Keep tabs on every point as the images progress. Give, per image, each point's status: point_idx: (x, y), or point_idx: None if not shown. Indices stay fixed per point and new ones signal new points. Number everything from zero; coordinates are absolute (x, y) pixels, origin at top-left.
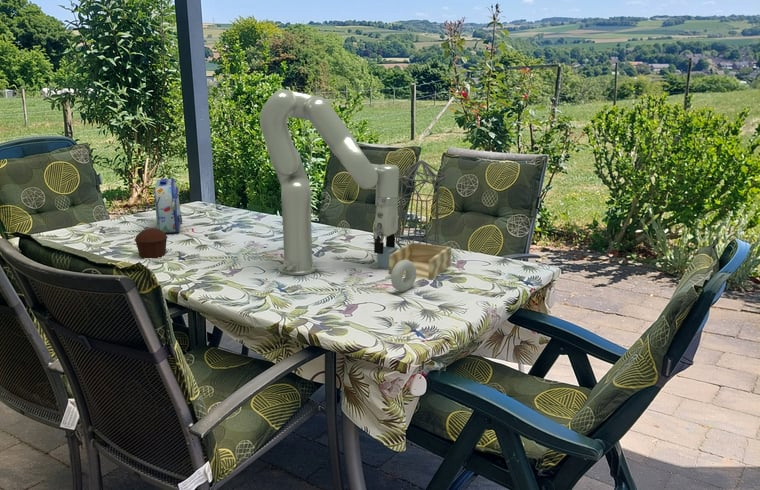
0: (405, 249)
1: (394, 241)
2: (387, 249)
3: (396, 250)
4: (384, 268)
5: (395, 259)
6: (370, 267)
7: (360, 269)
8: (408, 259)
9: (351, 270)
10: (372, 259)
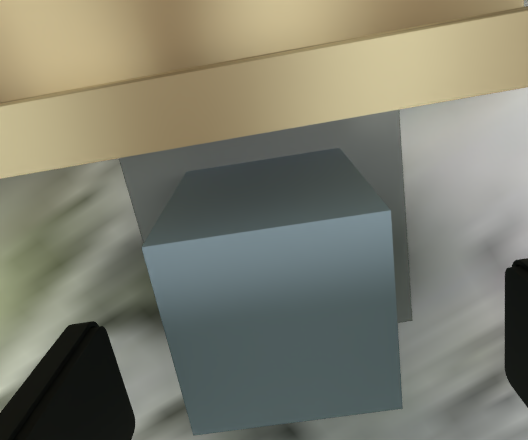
0: (75, 92)
1: (45, 383)
2: (311, 311)
3: (159, 229)
4: None
5: (517, 10)
6: (411, 314)
7: (451, 362)
8: (35, 96)
9: (509, 398)
10: (151, 435)
